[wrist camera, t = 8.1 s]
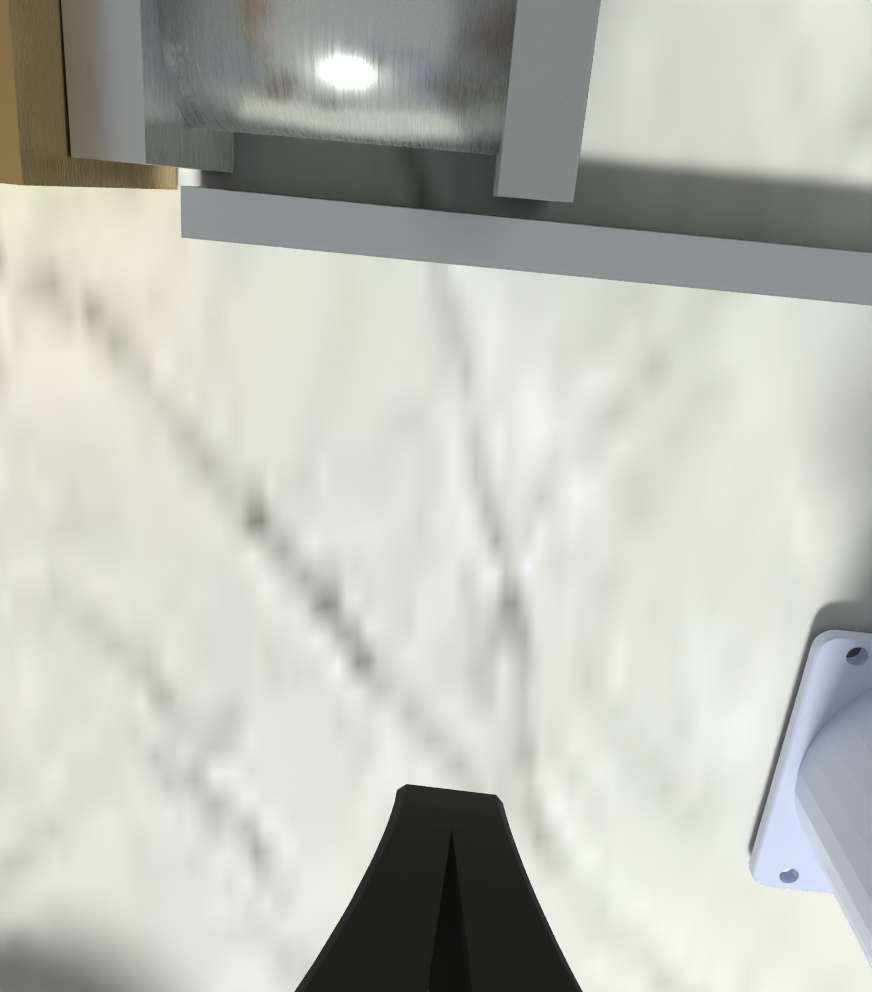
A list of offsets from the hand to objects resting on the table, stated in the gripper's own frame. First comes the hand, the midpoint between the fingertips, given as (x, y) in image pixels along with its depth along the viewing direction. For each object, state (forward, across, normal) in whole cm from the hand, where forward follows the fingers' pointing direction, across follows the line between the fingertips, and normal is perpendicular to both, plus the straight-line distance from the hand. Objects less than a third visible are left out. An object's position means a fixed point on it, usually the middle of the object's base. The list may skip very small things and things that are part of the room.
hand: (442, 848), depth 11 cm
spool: (+10, +3, -11) cm, 15 cm away
